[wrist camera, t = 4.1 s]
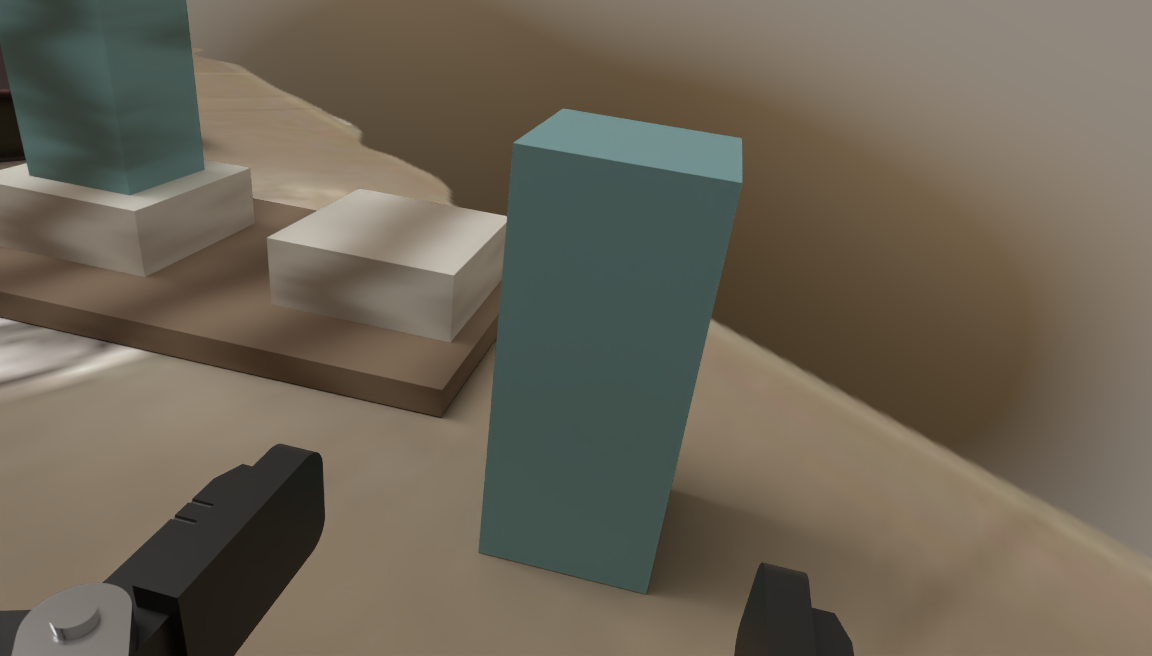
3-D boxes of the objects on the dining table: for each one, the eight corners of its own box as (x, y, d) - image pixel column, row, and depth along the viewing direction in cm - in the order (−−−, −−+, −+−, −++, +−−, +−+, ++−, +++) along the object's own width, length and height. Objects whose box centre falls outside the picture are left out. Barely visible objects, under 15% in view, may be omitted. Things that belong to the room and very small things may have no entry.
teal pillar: (478, 552, 21) (513, 143, 16) (524, 454, 26) (563, 108, 20) (646, 594, 20) (742, 183, 15) (663, 486, 25) (741, 138, 20)
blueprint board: (-107, 292, 30) (-262, -175, 23) (153, 198, 43) (108, -116, 36) (440, 417, 27) (464, -77, 20) (540, 274, 40) (576, -52, 33)
